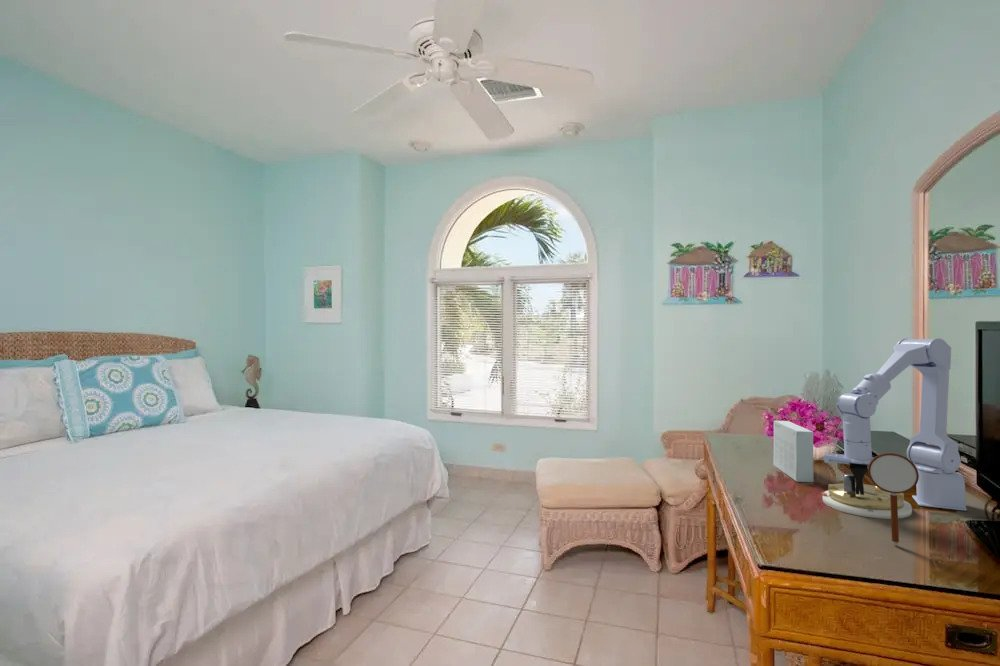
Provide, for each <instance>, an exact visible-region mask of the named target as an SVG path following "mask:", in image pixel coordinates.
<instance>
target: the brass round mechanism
mask: <svg viewBox="0 0 1000 666" xmlns="http://www.w3.org/2000/svg"><path fill="white" fill-rule="evenodd" d="M842 481H843V482H841V483H833V484H831V483H828V490H829V497H830V498H832V499H833V500H835V501H837V502H840V503H843V504H846V505H850V506H854V507H859V508H865V509H873V510H891V505H890V494H891V493H889V492H886V491H883V490H881V489H880V488H878V487H877V486H876V485H875V484H873V485H872V484H865V483H863V486H864V495H860V490H859V494H856V491H855V490H856V479H855V477H854V475H853V474H849V473H844V474H843V480H842ZM896 495H897V506H898V509H901V508H903V507H904V501H905V500H904V499H905V495H904V493H899V494H896Z"/></svg>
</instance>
